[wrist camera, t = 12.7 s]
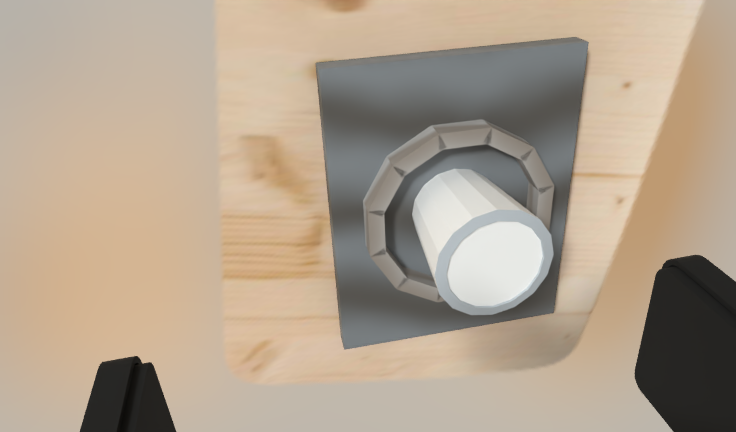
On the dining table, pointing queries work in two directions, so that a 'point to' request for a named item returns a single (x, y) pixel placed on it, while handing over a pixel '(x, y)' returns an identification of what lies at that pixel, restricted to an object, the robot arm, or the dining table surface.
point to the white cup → (480, 243)
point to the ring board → (440, 168)
